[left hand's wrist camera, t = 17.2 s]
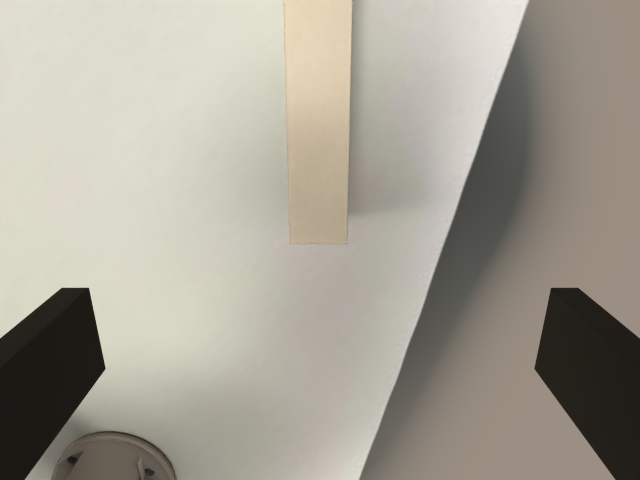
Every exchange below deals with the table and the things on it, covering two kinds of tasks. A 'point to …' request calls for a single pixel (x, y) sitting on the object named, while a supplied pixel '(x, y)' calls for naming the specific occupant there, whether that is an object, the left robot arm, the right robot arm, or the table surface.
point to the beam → (318, 118)
